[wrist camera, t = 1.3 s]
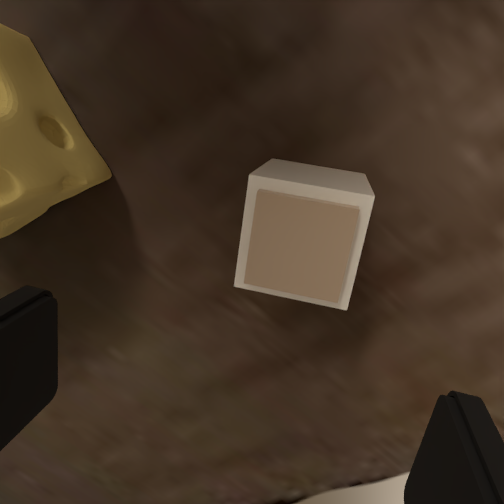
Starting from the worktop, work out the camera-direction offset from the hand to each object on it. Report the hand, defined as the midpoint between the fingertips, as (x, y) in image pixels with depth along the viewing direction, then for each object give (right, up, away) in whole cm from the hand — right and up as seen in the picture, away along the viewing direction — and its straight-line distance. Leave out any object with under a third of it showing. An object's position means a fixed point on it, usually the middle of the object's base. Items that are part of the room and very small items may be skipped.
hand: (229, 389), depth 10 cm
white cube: (+4, +6, +16) cm, 17 cm away
